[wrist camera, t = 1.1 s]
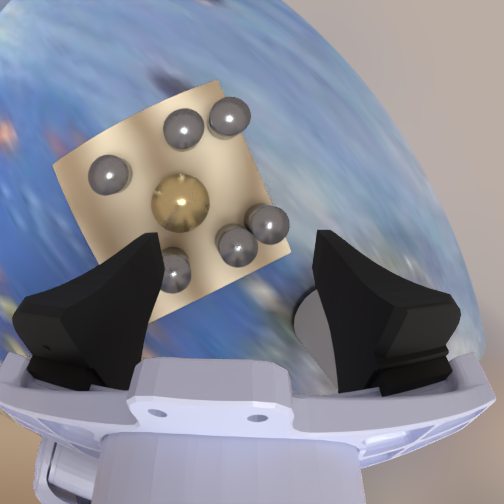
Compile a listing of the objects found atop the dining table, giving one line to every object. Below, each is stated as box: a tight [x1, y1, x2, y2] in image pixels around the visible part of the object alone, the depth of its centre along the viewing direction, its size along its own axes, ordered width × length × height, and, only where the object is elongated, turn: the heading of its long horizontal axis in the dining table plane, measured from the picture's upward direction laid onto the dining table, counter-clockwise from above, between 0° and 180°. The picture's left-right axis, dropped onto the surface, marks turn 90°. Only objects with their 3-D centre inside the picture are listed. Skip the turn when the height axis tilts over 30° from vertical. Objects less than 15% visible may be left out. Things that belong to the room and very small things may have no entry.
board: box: [53, 80, 291, 323], centre depth 22 cm, size 16×17×1 cm
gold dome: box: [151, 174, 210, 233], centre depth 21 cm, size 4×4×2 cm
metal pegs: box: [88, 97, 289, 294], centre depth 21 cm, size 13×13×3 cm
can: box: [294, 289, 338, 390], centre depth 24 cm, size 8×8×12 cm
